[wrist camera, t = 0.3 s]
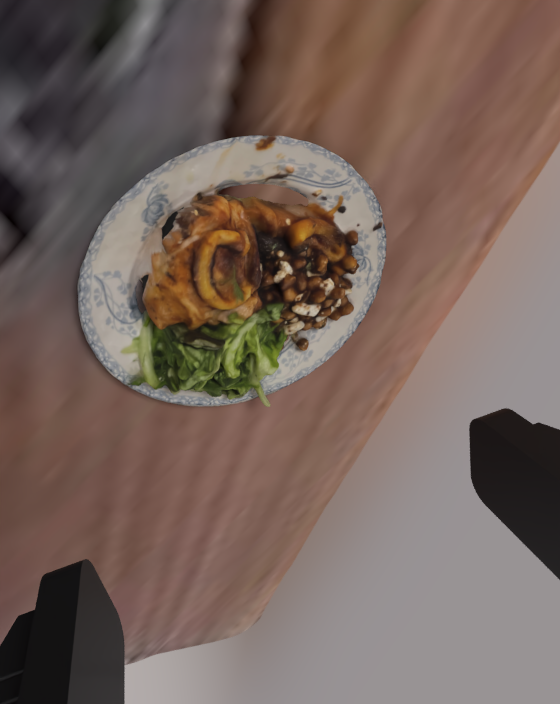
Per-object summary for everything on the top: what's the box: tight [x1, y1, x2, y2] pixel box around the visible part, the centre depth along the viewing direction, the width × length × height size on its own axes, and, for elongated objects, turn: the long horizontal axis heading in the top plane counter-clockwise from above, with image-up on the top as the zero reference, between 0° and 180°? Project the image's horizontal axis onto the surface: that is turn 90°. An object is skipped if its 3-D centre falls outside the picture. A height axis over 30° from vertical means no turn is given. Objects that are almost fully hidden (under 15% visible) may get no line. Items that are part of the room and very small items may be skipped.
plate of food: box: [78, 136, 386, 407], centre depth 43 cm, size 28×28×6 cm
